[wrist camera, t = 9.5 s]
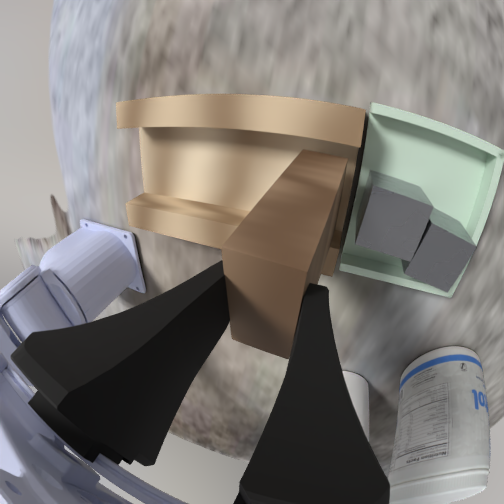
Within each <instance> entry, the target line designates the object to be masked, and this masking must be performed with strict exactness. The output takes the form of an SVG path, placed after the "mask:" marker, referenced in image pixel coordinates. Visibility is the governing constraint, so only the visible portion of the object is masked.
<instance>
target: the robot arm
mask: <svg viewBox="0 0 504 504" xmlns="http://www.w3.org/2000/svg"><path fill="white" fill-rule="evenodd" d="M80 225H81V228H80V229H78V230H77V231H75V232H74V233H72V234H71V235H69V236H68V237H66V238H65V239H63V240H62V241H60V242H59V243H57V244H56V245H55V246H53V247H52V248H50V249H49V250H48V251H47V252H46V253H45V254H44V256H43V258H42V260H41V262H40V266H35V265H31V266H30V267H28V268H27V269H26V270H25V271H23V272H22V273H21V274H20V275H18V276H17V277H16V278H15V279H13V280H12V281H11V282H10V283H9V284H7V285H6V286H5V287H4V288H3V289H2V290H0V504H132V503H131V502H129V501H127V500H125V499H124V498H122V497H121V496H119V495H117V494H115V493H114V492H112V491H111V490H109V489H108V488H106V487H105V486H103V485H101V484H100V483H99V482H98V481H99V480H100V476H99V475H98V474H97V473H96V472H95V471H97V472H98V473H99V474H101V475H102V476H103V477H105V478H106V479H108V480H109V481H110V482H112V483H114V484H115V485H116V486H118V487H119V488H121V489H122V490H124V491H126V492H127V493H128V494H130V495H132V496H133V497H135V498H137V499H138V500H140V501H142V502H143V503H145V504H187V503H185V502H183V501H181V500H179V499H177V498H175V497H173V496H170V495H169V494H167V493H165V492H163V491H161V490H159V489H157V488H155V487H153V486H151V485H150V484H148V483H146V482H144V481H143V480H141V479H139V478H138V477H136V476H134V475H133V474H131V473H129V472H128V471H126V470H125V469H123V468H122V467H120V466H119V465H118V464H119V463H120V462H121V460H123V461H125V462H126V463H128V464H131V463H132V462H133V460H136V461H137V462H139V463H140V464H142V465H144V466H150V465H154V464H155V462H156V459H157V456H158V454H159V451H160V449H161V446H162V444H163V442H164V439H165V437H166V435H167V432H168V430H169V428H170V426H171V423H172V421H173V419H174V417H175V415H176V413H177V411H178V409H179V407H180V405H181V403H182V401H183V399H184V397H185V395H186V393H187V391H188V389H189V387H190V385H191V383H192V381H193V379H194V378H195V376H196V374H197V373H198V371H199V370H200V368H201V367H202V365H203V364H204V362H205V361H206V359H207V358H208V356H209V355H210V353H211V351H212V350H213V348H214V347H215V345H216V344H217V342H218V341H219V339H220V338H221V336H222V334H223V333H224V331H225V330H226V328H227V326H228V324H229V322H230V315H229V307H228V298H227V290H226V281H225V275H224V269H223V261H220V262H218V263H216V264H214V265H213V266H211V267H209V268H208V269H206V270H204V271H202V272H201V273H199V274H197V275H196V276H194V277H192V278H190V279H189V280H187V281H185V282H183V283H182V284H180V285H178V286H176V287H175V288H173V289H171V290H169V291H167V292H165V293H163V294H161V295H159V296H157V297H155V298H153V299H151V300H149V301H147V302H145V303H143V304H140V305H138V306H136V307H133V308H131V309H128V310H126V311H123V312H121V313H118V314H115V315H112V316H109V317H105V318H102V319H99V320H96V321H93V320H94V319H95V318H96V317H97V316H98V315H99V314H100V313H101V312H102V311H103V310H104V309H105V308H106V307H107V306H108V305H109V304H110V303H111V302H112V301H113V300H115V299H116V298H117V297H118V296H119V295H120V294H121V293H122V292H123V291H124V290H125V289H126V288H127V287H128V288H131V289H133V290H136V291H138V292H140V293H145V292H146V288H145V283H144V279H143V275H142V271H141V266H140V262H139V257H138V252H137V247H136V242H135V237H134V235H133V234H132V233H131V232H128V231H124V230H121V229H117V228H114V227H110V226H106V225H103V224H99V223H96V222H92V221H89V220H85V219H82V220H80ZM2 314H3V316H4V317H5V319H6V320H7V322H8V323H9V325H10V326H11V328H12V329H13V330H14V332H15V333H16V335H17V336H18V337H19V339H20V340H21V341H22V343H20V342H19V340H18V339H17V338H16V336H15V335H14V334H13V332H12V331H11V329H10V328H9V326H8V325H7V323H6V322H5V320H4V318H3V316H2ZM92 321H93V322H92ZM28 385H29V386H34V387H35V388H36V389H37V390H38V391H37V392H36V394H35V393H34V392H33V391H32V390H31V389H30V387H29V386H28ZM64 445H65V446H67V447H68V448H69V449H70V450H71V451H72V452H73V453H74V454H76V455H77V456H78V457H79V458H80V459H81V460H80V459H79V458H77V457H75V456H74V455H73V454H71V453H69V452H68V451H67V450H65V449H64ZM82 460H83V461H84V462H85V463H84V462H83V461H82ZM87 464H88V465H89V466H88V465H87ZM92 468H93V469H94V470H95V471H94V470H93V469H92ZM389 500H390V483H389V481H388V479H387V477H386V476H385V474H384V472H383V470H382V468H381V466H380V464H379V462H378V460H377V458H376V457H375V455H374V452H373V450H372V448H371V446H370V444H369V442H368V440H367V437H366V435H365V433H364V430H363V428H362V425H361V423H360V420H359V418H358V416H357V413H356V411H355V408H354V406H353V403H352V400H351V397H350V394H349V391H348V388H347V385H346V382H345V379H344V376H343V372H342V369H341V365H340V361H339V357H338V353H337V349H336V344H335V340H334V334H333V329H332V324H331V317H330V309H329V290H328V288H327V287H325V286H321V285H317V284H313V283H309V285H308V287H307V289H306V292H305V295H304V299H303V304H302V308H301V312H300V317H299V321H298V325H297V329H296V333H295V337H294V341H293V345H292V349H291V354H290V358H289V362H288V367H287V371H286V375H285V378H284V381H283V383H282V386H281V389H280V391H279V394H278V397H277V399H276V402H275V404H274V407H273V409H272V412H271V414H270V417H269V419H268V421H267V424H266V426H265V429H264V431H263V433H262V436H261V438H260V440H259V442H258V445H257V447H256V449H255V451H254V453H253V455H252V458H251V460H250V462H249V464H248V466H247V468H246V470H245V472H244V475H243V477H242V478H241V480H240V485H239V493H238V495H237V497H236V499H235V501H234V503H233V504H389Z"/></svg>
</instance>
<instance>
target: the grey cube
mask: <svg viewBox="0 0 504 504" xmlns="http://www.w3.org/2000/svg"><path fill="white" fill-rule="evenodd" d="M433 207H434V206H433V205H432V203H431V202H430V200H429V199H428V197H427V196H426V194H425V193H424V191H423V190H422V188H421V187H420V186H417V185H414V184H412V183H409V182H406V181H403V180H401V179H398V178H395V177H392V176H389V175H386V174H383V173H380V172H376V171H373V170H370V171H369V175H368V179H367V183H366V186H365V190H364V193H363V197H362V201H361V204H360V207H359V211H358V214H357V217H356V233H355V244H356V245H359V246H362V247H365V248H369V249H372V250H375V251H378V252H381V253H385V254H388V255H391V256H394V257H397V258H400V259H403V260H406V261H409V262H411V260H412V258H413V256H414V253H415V251H416V249H417V247H418V244H419V242H420V240H421V237H422V235H423V233H424V230H425V228H426V225H427V223H428V220H429V218H430V215H431V212H432V210H433Z"/></svg>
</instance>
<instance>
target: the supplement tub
mask: <svg viewBox="0 0 504 504" xmlns="http://www.w3.org/2000/svg"><path fill="white" fill-rule="evenodd" d="M489 468H490V426H489V413H488V404H487V395H486V388H485V382H484V376H483V371H482V366H481V361H480V358H479V356H478V355H477V354H476V353H475V352H474V351H472V350H471V349H468V348H465V347H460V346H449V347H443V348H439V349H436V350H433V351H430V352H428V353H426V354H424V355H422V356H420V357H419V358H417V359H416V360H414V361H413V362H412V363H411V364H410V365H409V366H408V367H407V368H406V369H405V371H404V372H403V374H402V376H401V379H400V389H399V404H398V416H397V425H396V434H395V441H394V448H393V454H392V460H391V466H390V471H389V476H388V481H389V483H390V500H389V504H447V503H452V502H456V501H459V500H462V499H465V498H468V497H471V496H473V495H476V494H478V493H480V492H482V491H483V490H485V489H486V487H487V479H488V475H489Z"/></svg>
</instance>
